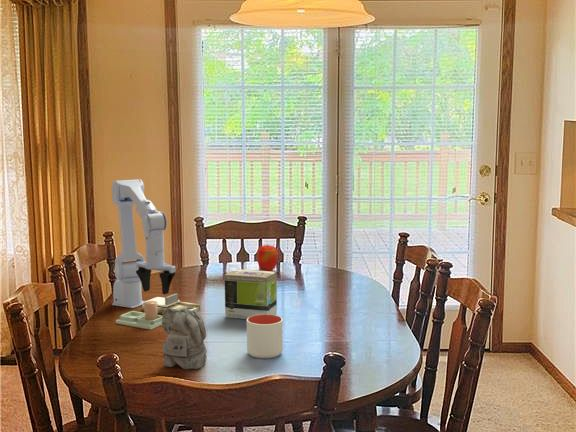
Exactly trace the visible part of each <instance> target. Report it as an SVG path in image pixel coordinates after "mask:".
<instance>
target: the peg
mask: <svg viewBox="0 0 576 432" xmlns="http://www.w3.org/2000/svg"><path fill="white" fill-rule="evenodd" d="M146 301H147V302H145V303H144V304H143V305H144V308H145V311H144V313H145V320H151V321H153V320H155V319H158V315H159V313H158V312H157V307H158V306H157V302H156V301H148V300H146Z"/></svg>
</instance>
